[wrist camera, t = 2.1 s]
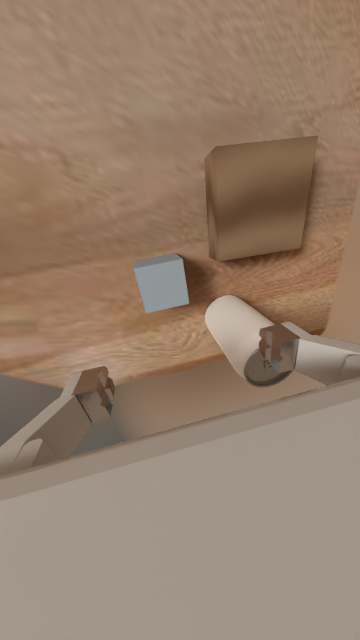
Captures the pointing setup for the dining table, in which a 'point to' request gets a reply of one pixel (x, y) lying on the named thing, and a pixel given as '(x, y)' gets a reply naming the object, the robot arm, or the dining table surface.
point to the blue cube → (161, 282)
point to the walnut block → (258, 196)
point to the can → (242, 339)
